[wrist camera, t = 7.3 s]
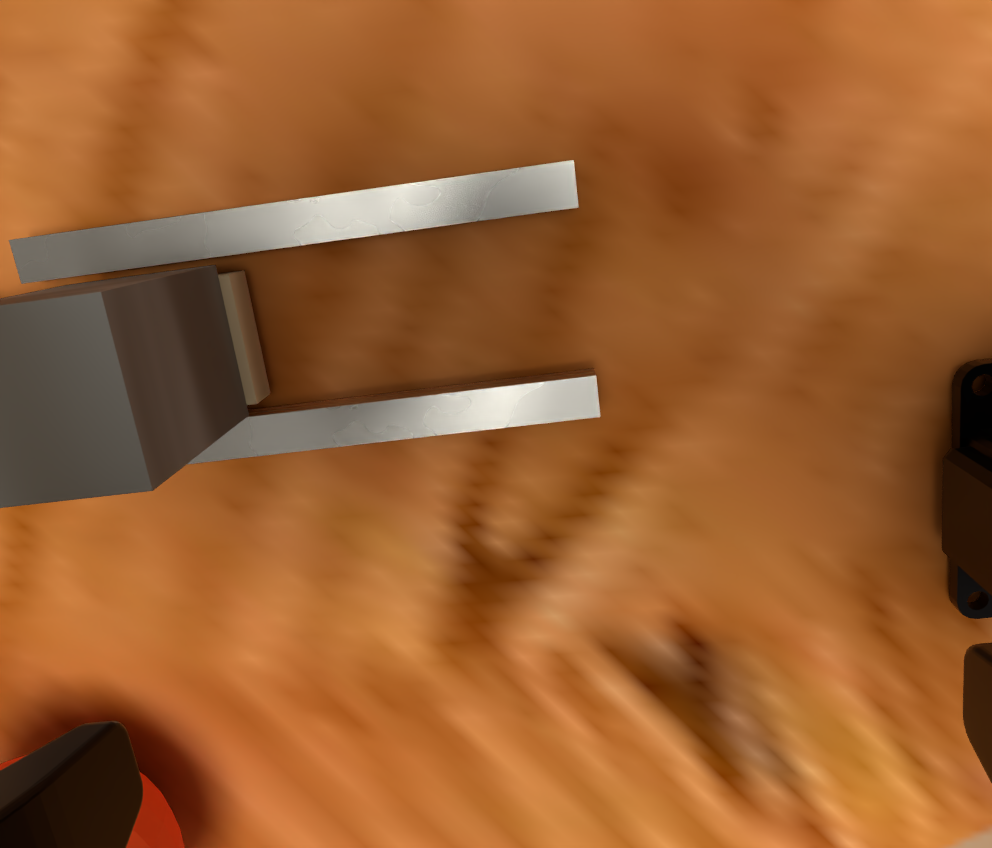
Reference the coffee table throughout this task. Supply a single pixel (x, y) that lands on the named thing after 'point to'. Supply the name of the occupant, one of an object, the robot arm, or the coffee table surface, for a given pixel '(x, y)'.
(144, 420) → the kicker
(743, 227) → the coffee table surface
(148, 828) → the clementine
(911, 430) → the coffee table surface
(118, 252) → the track
